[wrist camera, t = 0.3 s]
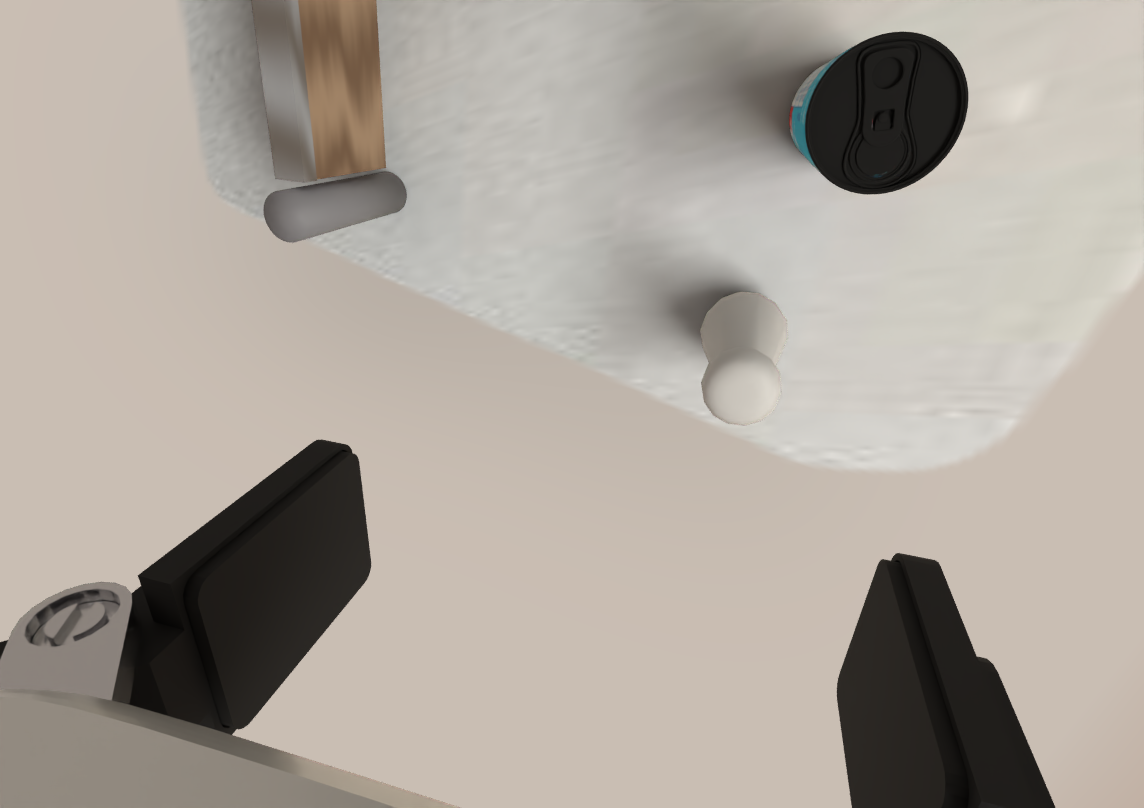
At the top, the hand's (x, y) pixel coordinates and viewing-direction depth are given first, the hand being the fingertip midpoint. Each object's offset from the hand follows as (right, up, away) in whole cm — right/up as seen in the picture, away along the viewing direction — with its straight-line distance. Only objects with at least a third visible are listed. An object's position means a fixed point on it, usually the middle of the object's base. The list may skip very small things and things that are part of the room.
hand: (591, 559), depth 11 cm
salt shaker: (+12, +9, +34) cm, 37 cm away
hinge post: (-14, +19, +37) cm, 44 cm away
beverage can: (+16, +21, +27) cm, 38 cm away
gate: (-14, +27, +31) cm, 43 cm away
